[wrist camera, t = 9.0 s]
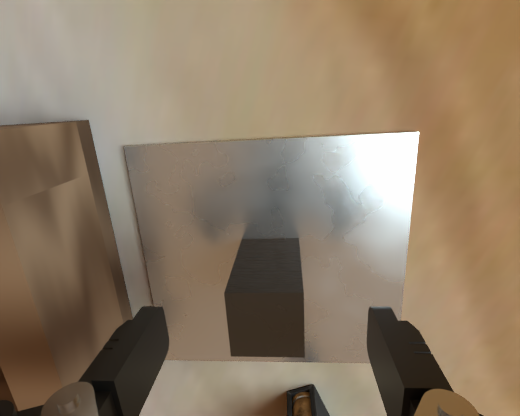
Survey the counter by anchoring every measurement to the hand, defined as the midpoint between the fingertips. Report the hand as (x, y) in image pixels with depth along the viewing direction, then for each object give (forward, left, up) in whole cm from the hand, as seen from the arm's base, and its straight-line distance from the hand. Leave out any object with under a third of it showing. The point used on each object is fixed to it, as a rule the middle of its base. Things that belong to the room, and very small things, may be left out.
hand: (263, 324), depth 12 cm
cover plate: (0, 0, -6) cm, 6 cm away
